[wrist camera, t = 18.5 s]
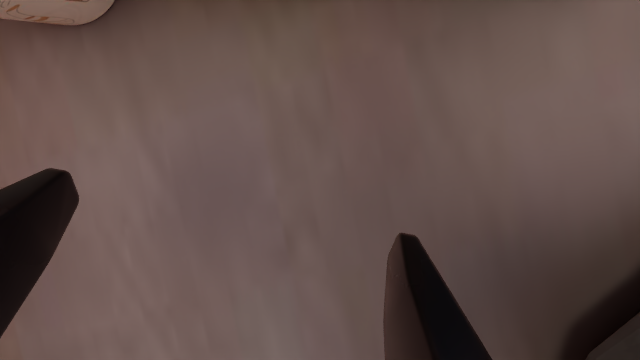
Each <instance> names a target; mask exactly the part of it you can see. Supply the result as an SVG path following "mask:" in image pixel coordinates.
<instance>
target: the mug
mask: <svg viewBox="0 0 640 360" xmlns="http://www.w3.org/2000/svg"><path fill="white" fill-rule="evenodd" d="M114 1H115V0H0V19H10V20H20V21H30V22H40V23H49V24H60V25H81V24H86V23H89V22H91V21H93V20H95V19H97V18H99V17H100V16H101V15H103V14H104V13H105V12H106V11H107V10H108V9H109V8H110V6H111V5H112V4H113V2H114Z"/></svg>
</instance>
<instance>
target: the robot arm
mask: <svg viewBox="0 0 640 360" xmlns="http://www.w3.org/2000/svg"><path fill="white" fill-rule="evenodd" d="M78 202H79V195H78V192H77V190H76V187H75V184H74V182H73V179H72V176H71V174H70V173H69V172H67V171H64V170H59V169H53V168H49V169H45V170H43V171H41V172H38V173H36V174H34V175H32V176H29V177H27V178H25V179H23V180H21V181H18V182H16V183H14V184H12V185H9V186H7V187H5V188H3V189H1V190H0V338H1V336H2V335H3V333H4V332H5V330H6V328H7V327H8V325H9V324H10V322H11V321H12V319H13V318H14V316H15V315H16V313H17V311H18V310H19V308H20V307H21V305H22V304H23V302H24V301H25V299H26V297H27V296H28V294H29V293H30V291H31V290H32V288H33V287H34V285H35V284H36V282H37V280H38V279H39V277H40V276H41V274H42V273H43V271H44V269H45V268H46V266H47V265H48V263H49V261H50V259H51V258H52V256H53V254H54V252H55V250H56V248H57V246H58V244H59V242H60V240H61V238H62V236H63V234H64V232H65V230H66V228H67V226H68V224H69V222H70V220H71V218H72V216H73V214H74V212H75V210H76V208H77V206H78ZM383 323H384V348H385V360H492V358H491V357H490V355H489V353H488V352H487V350H486V349H485V347H484V345H483V344H482V342H481V340H480V339H479V337H478V335H477V334H476V332H475V331H474V329H473V327H472V326H471V324H470V322H469V321H468V319H467V317H466V316H465V314H464V313H463V311H462V309H461V308H460V306H459V304H458V303H457V301H456V299H455V298H454V296H453V295H452V293H451V291H450V290H449V288H448V286H447V285H446V283H445V281H444V280H443V278H442V277H441V275H440V273H439V272H438V270H437V268H436V267H435V265H434V263H433V262H432V260H431V259H430V257H429V255H428V254H427V252H426V250H425V249H424V247H423V245H422V244H421V242H420V241H419V239H418V238H417V237H416V236H415V235H411V234H406V233H399V234H398V235H397V237H396V239H395V241H394V244H393V246H392V248H391V250H390V252H389V255H388V260H387V273H386V288H385V303H384V320H383Z"/></svg>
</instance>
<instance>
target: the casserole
mask: <svg viewBox="0 0 640 360" xmlns="http://www.w3.org/2000/svg"><path fill="white" fill-rule="evenodd" d="M586 360H640V312H639V313H638V314H637V315H636V316H635V317H633V318H632V319H631V320H630V321H628V322H627V323H626V324H625V325H623V326H622V327H621V328H620V329H618V330H617V331H616V332H615V333H613V334H612V335H611V336H610V337H609V338H607V339H606V340H605V341H604V342H602V343H601V344H600V345H599V346H597V347H596V348H595V349H594V350H592V351H591V352H590V353H589V354H588V356H587V358H586Z"/></svg>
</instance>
